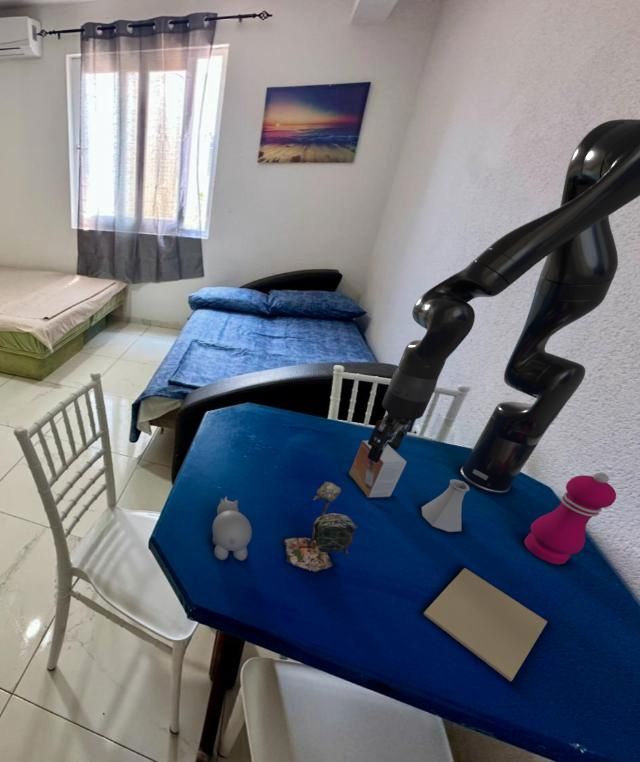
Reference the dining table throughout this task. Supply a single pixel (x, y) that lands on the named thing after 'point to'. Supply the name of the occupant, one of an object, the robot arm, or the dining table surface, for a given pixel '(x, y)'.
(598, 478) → the pepper mill
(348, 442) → the dining table surface
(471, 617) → the mat
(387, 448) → the small box
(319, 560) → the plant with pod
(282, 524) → the dining table surface
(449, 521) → the flask
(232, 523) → the round bodied animal figurine
